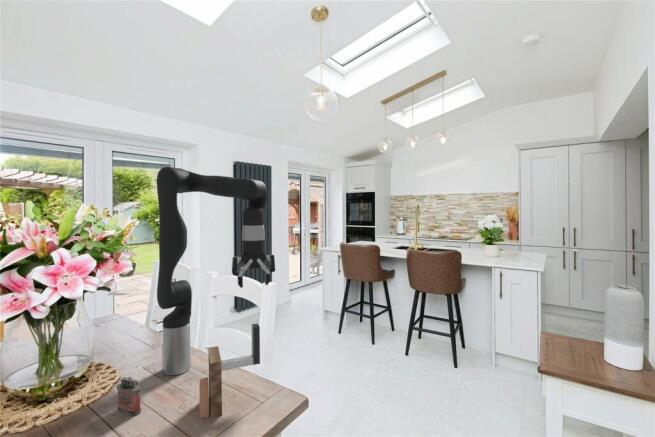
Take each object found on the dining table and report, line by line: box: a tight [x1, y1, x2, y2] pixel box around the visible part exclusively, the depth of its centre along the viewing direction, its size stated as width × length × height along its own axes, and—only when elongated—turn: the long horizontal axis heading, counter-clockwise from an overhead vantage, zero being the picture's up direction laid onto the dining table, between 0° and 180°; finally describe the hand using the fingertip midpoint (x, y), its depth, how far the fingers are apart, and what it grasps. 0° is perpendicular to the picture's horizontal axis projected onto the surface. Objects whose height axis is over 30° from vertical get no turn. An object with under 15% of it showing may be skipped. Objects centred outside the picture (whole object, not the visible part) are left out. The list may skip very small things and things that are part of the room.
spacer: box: [198, 376, 210, 419], centre depth 94 cm, size 2×8×8 cm, turn 22°
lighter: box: [116, 376, 142, 417], centre depth 93 cm, size 8×3×10 cm, turn 70°
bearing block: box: [207, 346, 223, 419], centre depth 95 cm, size 3×11×16 cm, turn 24°
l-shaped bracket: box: [221, 323, 261, 372], centre depth 98 cm, size 14×3×12 cm, turn 114°
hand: (254, 285), depth 106 cm, fingers open, 8 cm apart
